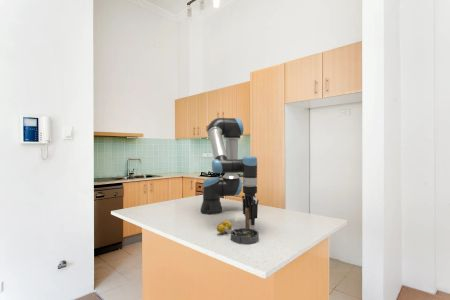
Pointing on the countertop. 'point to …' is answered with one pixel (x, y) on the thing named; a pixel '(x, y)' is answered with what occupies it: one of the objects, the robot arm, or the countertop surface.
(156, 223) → the countertop surface
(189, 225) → the countertop surface
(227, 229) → the pressure relief valve
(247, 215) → the wooden beam block
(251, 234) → the tin
